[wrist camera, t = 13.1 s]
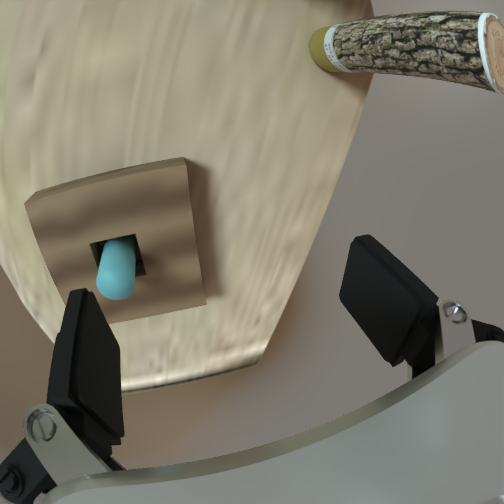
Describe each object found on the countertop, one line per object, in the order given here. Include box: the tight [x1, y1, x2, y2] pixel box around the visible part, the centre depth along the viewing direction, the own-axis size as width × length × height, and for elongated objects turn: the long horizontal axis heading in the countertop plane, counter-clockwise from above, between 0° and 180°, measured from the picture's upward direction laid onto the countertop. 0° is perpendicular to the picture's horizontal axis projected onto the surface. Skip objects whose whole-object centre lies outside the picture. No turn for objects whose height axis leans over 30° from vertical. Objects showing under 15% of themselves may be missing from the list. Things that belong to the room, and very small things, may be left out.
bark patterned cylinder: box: [310, 11, 504, 94], centre depth 20 cm, size 7×7×25 cm
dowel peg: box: [96, 234, 136, 300], centre depth 32 cm, size 4×4×9 cm
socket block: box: [24, 157, 206, 324], centre depth 33 cm, size 20×20×4 cm
